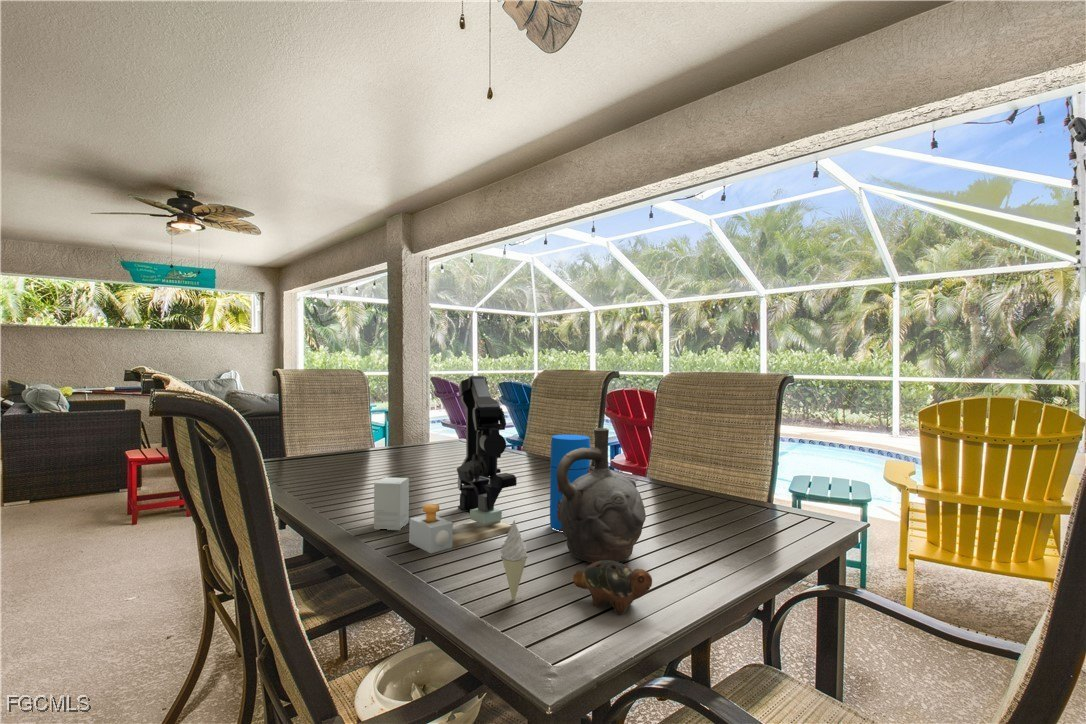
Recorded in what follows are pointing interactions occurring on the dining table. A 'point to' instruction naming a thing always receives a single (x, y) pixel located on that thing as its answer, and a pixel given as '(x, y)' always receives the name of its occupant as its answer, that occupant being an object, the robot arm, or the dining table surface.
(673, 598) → the dining table surface
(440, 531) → the gauge cabinet
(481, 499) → the carriage
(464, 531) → the rail board
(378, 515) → the supplement box
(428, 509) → the button
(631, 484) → the vessel
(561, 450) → the thermos
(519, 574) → the ice cream cone
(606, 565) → the decorative turtle
